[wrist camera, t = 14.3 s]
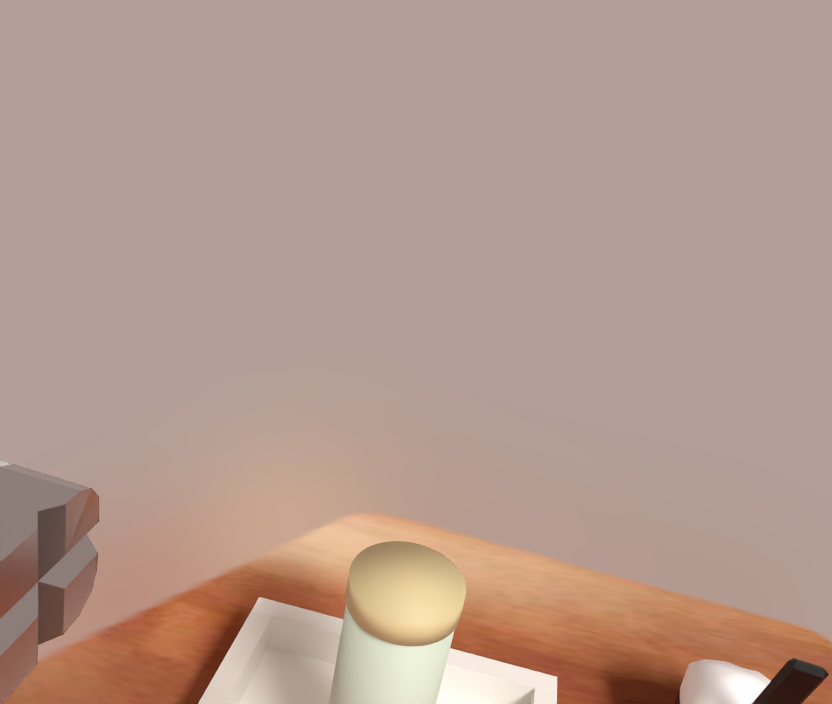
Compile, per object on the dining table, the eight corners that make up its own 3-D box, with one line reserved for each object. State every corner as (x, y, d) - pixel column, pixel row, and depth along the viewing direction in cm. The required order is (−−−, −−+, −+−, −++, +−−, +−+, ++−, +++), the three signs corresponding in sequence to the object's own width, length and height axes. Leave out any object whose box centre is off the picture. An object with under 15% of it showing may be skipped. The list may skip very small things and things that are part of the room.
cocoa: (685, 701, 47) (744, 534, 43) (792, 763, 44) (866, 588, 40) (626, 799, 40) (690, 608, 36) (749, 882, 36) (835, 682, 32)
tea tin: (296, 832, 34) (335, 602, 29) (326, 743, 39) (365, 530, 34) (400, 864, 34) (458, 636, 29) (419, 770, 38) (472, 558, 33)
